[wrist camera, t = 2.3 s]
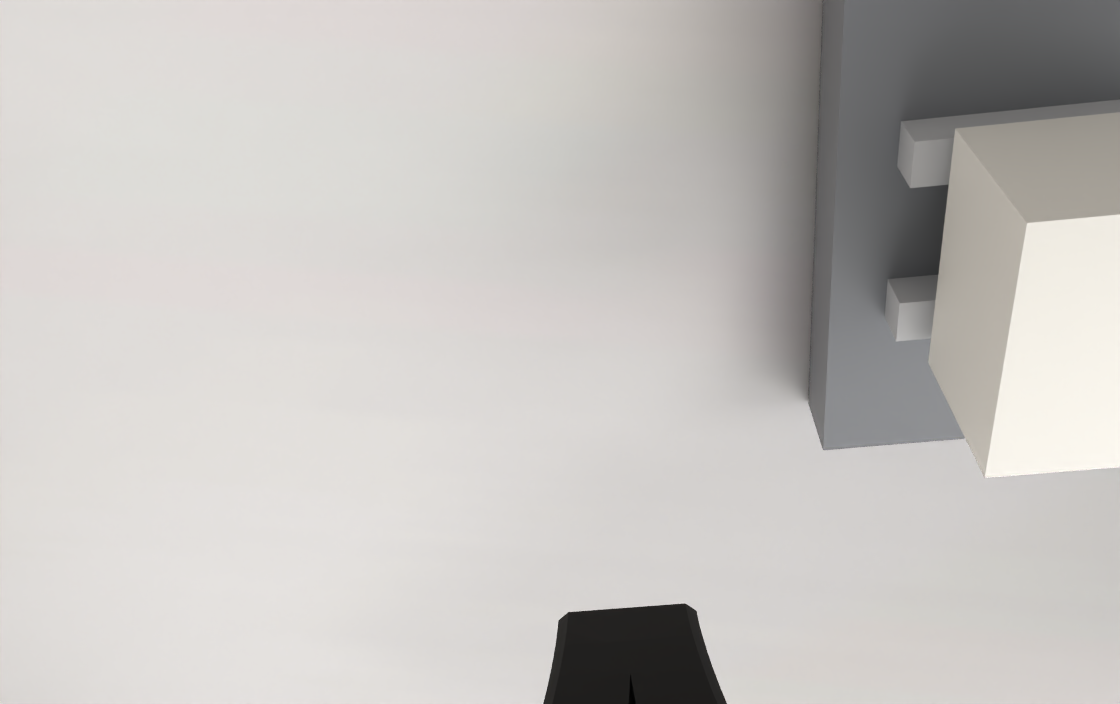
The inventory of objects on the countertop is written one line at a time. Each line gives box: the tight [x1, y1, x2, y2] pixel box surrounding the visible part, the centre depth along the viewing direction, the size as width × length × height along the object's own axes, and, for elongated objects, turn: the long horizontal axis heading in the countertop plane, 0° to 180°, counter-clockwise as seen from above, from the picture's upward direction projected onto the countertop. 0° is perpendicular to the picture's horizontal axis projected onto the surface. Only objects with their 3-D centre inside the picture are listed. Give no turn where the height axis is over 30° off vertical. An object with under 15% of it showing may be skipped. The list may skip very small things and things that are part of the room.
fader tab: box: [928, 112, 1120, 478], centre depth 16 cm, size 4×4×4 cm
